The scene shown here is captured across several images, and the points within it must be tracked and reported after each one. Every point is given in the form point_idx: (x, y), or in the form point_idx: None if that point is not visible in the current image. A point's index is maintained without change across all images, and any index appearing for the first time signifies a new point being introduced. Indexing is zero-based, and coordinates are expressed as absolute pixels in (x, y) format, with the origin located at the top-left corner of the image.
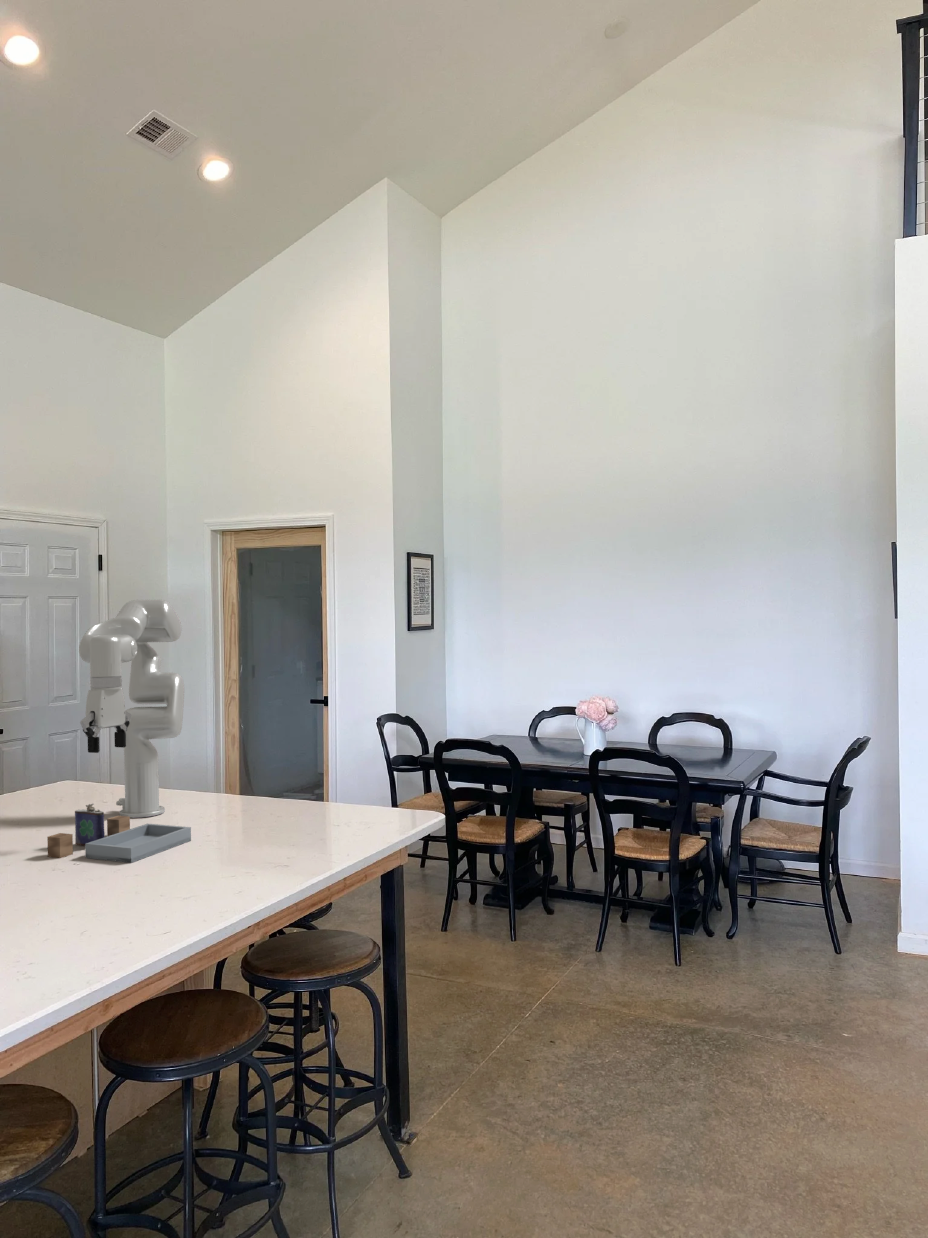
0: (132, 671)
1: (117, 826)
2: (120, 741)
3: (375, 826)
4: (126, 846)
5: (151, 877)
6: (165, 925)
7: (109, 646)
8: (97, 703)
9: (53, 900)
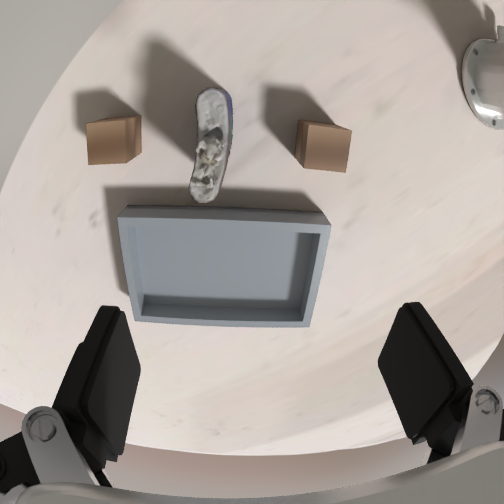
0: None
1: (300, 158)
2: (399, 372)
3: (385, 424)
4: (203, 248)
5: None
6: None
7: None
8: None
9: (5, 308)
